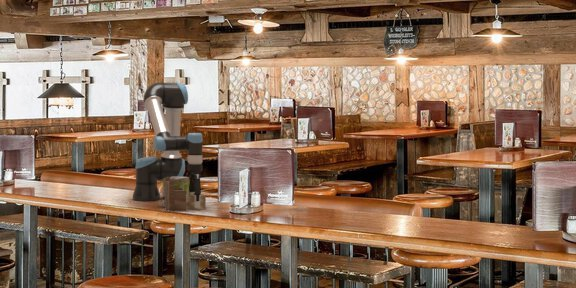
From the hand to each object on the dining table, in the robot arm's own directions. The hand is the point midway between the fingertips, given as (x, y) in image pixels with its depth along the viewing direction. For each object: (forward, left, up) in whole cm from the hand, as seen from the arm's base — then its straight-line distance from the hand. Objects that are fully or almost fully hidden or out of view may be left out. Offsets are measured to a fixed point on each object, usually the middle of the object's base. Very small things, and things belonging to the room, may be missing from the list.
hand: (194, 206), depth 453 cm
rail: (0, -3, -1) cm, 3 cm away
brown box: (0, -10, -1) cm, 10 cm away
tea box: (-16, -7, -2) cm, 17 cm away
